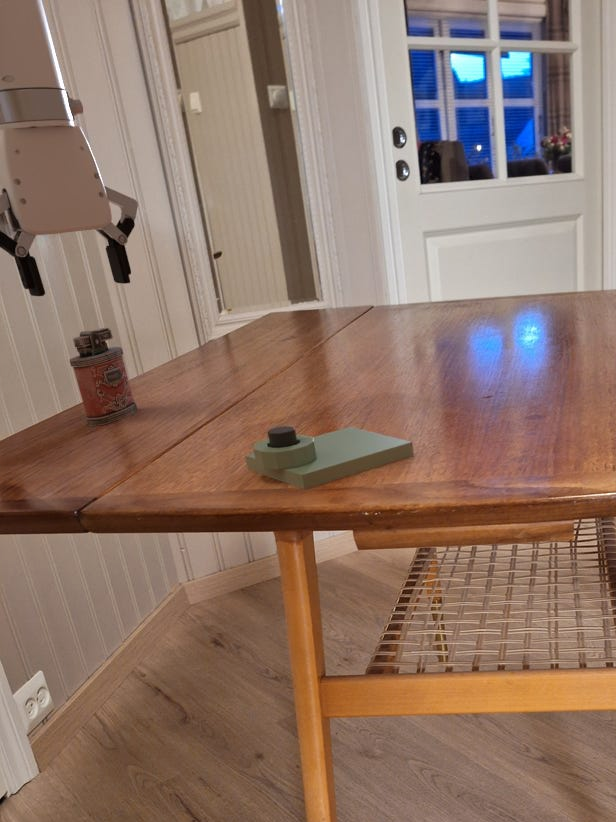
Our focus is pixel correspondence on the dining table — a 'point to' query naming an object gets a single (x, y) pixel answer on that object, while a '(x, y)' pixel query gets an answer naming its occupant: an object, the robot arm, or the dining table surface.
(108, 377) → the lighter
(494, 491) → the dining table surface
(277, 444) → the button
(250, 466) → the scale
